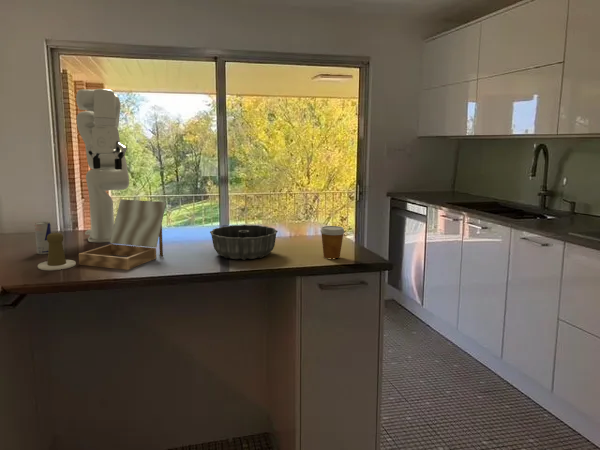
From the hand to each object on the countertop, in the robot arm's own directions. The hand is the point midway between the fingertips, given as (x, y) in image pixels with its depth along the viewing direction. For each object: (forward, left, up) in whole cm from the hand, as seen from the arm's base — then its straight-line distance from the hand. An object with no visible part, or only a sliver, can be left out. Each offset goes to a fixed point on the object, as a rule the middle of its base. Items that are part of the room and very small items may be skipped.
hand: (107, 168), depth 184 cm
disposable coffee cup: (+83, +25, -34) cm, 93 cm away
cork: (-6, -22, -33) cm, 40 cm away
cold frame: (+10, -5, -33) cm, 35 cm away
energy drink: (-25, -8, -34) cm, 43 cm away
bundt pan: (+49, +17, -34) cm, 62 cm away
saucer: (-6, -22, -33) cm, 40 cm away
